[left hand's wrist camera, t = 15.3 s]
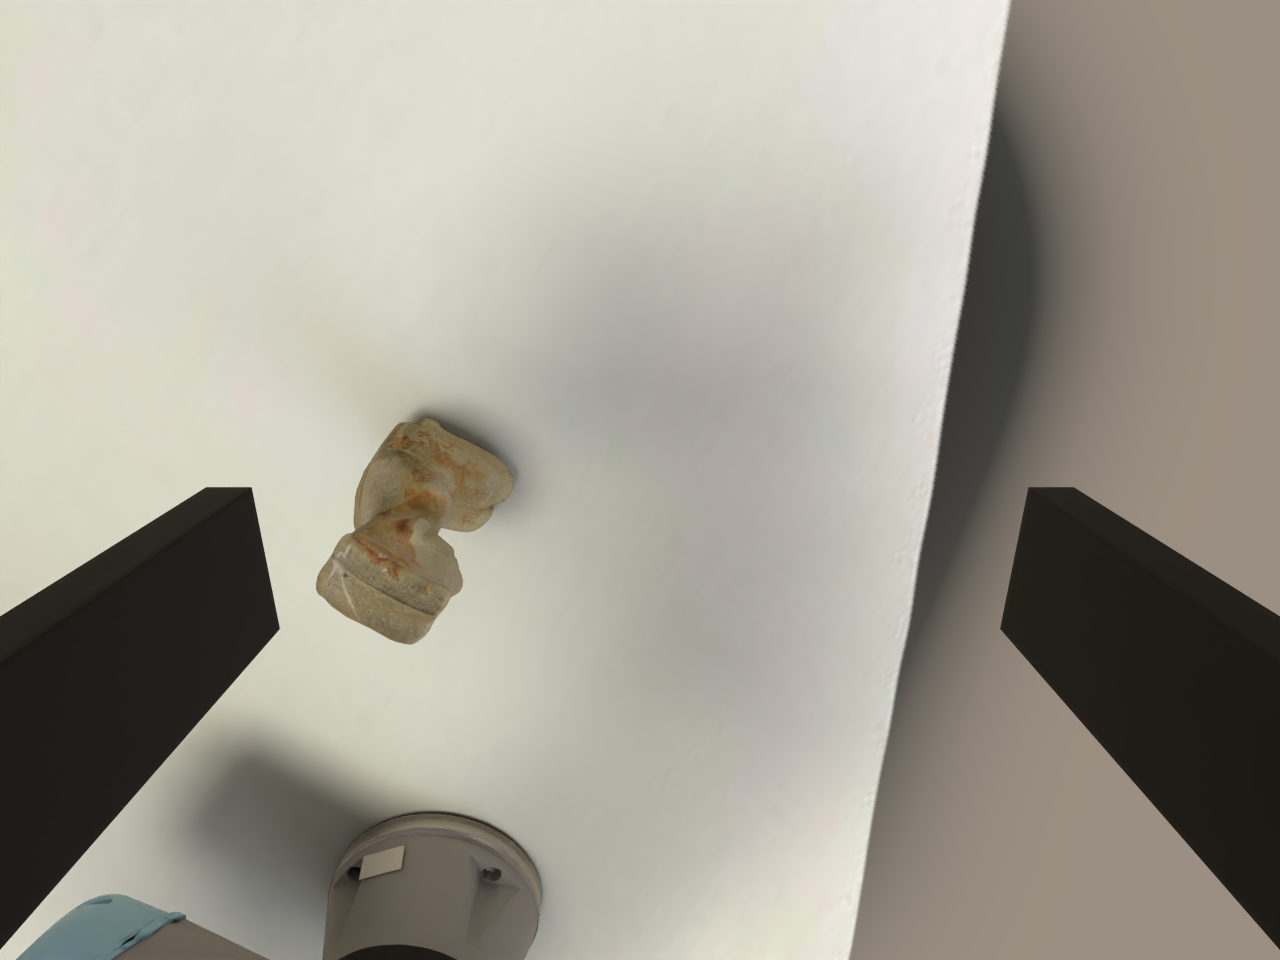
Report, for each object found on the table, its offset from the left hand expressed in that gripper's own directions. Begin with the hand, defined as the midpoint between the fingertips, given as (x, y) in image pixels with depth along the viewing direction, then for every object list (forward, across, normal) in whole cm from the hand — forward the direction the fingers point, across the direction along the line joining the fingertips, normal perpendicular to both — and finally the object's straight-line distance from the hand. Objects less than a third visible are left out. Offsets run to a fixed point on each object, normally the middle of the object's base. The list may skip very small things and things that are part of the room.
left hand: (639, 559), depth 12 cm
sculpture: (+29, +11, +8) cm, 32 cm away
